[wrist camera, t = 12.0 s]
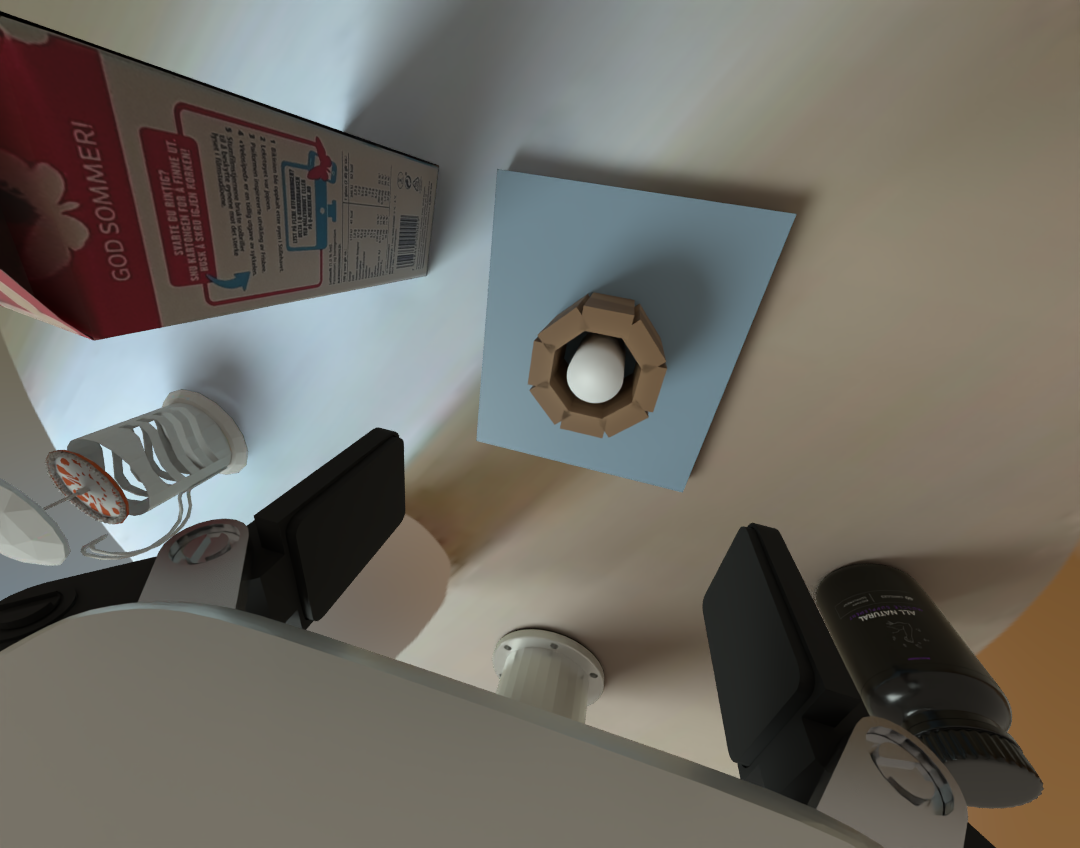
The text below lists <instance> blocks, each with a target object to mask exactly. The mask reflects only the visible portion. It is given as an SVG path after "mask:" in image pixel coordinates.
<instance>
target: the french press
mask: <svg viewBox="0 0 1080 848" xmlns="http://www.w3.org/2000/svg"><path fill="white" fill-rule="evenodd" d="M153 420H154V421H155V423H156V426H157V430H156V429H155V428H154V427H153V426H152V425H151V424H149V423H148V422H151V421H153ZM138 426H140V428H141V430H142V433H143V441H144V448H143V446H142V443H141V440H140V438H139V436H137V435H136V434H135V433H134V430H133V428H135V427H138ZM100 444H101V445H103V446H104V447H106V448H108V449H110V450H111V451H112V457H113V468H114V478H115V480H116V481H117V482H118V483H117V482H116V481H115V480H114V479H113V478H112V477H111V476H110V475H109V474H108V473H107V472H105V465H104V458H103V451H102V448H101V446H100ZM152 445H153V448H154V451H155V454H156V456H157V458H158V460H159V462H160V464H161V466H162V467H163V468H164V469H165V470H166V472H164V471H162V470H160V468H159V467H158V466H157V464H156V463H155V461H154V460H153V451H152ZM144 450H145V451H144ZM247 455H248V450H247V447H246V444H245V440H244V437H243V435H242V433H241V432H240V430H239V429H238V427H237V425H236V424H235V422H234V421H233V419H232V418H231V417H230V416H229V415H228V414H227V413H226V412H225V411H224V410H223V409H222V408H221V407H220V406H219V405H218V404H216V403H215V402H213V401H212V400H210V399H208V398H206V397H205V396H203V395H201V394H200V393H197V392H192V391H188V390H183V389H181V390H178V391H174V392H171V393H169V395H168V396H167V398H166V399H165V401H164V402H163V406H162V408H160V409H157V410H154V411H151V412H149V413H146V414H143V415H140V416H138V417H135V418H132V419H129V420H127V421H124V422H121V423H118V424H116V425H113V426H110V427H107V428H105V429H102V430H99V431H96V432H94V433H91V434H88V435H85V436H82V437H80V438H77V439H74V440H72V441H70V443H69V445H68V446H67V450H57V451H53V452H49V454H48V456H47V458H46V461H45V463H46V469H48V471H47V472H48V473H49V474H47V475H50V478H52V479H53V480H52V481H54V482H55V484H53V485H57V487H56V488H59V489H60V490H59V491H62V492H63V493H62V494H64V495H65V498H63V499H61V500H59V501H57V502H55V503H53V504H50V505H48V506H46V507H44V508H42V507H41V506H40V505H38V504H37V503H36V502H35V501H33V500H32V499H31V498H29V497H28V496H27V495H26V494H24V493H23V492H22V491H21V490H19V489H17V488H16V487H14V486H13V485H11V484H9V483H8V482H6V481H5V480H3V479H1V478H0V553H1V554H3V555H5V556H7V557H9V558H12V559H15V560H18V561H20V562H26V563H34V564H41V565H49V566H50V565H61V564H62V563H63V562H64V560H65V559H66V558H67V556H68V555H69V554H70V552H71V550H70V547H69V543H68V540H67V538H66V537H65V535H64V534H63V532H62V531H61V529H60V527H59V526H58V524H57V523H56V522H55V521H54V520H53V519H52V518H51V517H50V516H49V515H48V514H47V512H46V511H45V510H47V509H49V508H51V507H53V506H55V505H57V504H59V503H62V502H64V501H66V500H67V501H68V502H69V501H71V504H75V507H78V508H77V509H78V510H81V512H83V511H84V512H85V514H86V515H88V516H89V517H92V518H93V519H95V520H96V521H99V522H104V523H108V524H119V523H123V522H124V520H125V519H126V518H127V516H128V515H133V516H136V515H141V514H144V513H145V512H148V511H149V510H151V509H153V508H155V507H156V506H158V505H160V504H162V503H164V502H165V501H167V500H169V499H171V498H172V497H174V496H176V495H178V494H179V495H178V502H179V509H180V511H179V516H178V520H177V522H176V523H175V525H174V526H173V527H172V529H171V530H170V532H169V533H168V534H167V535H165V536H164V537H162V538H161V539H159V540H158V541H157V542H155V543H154V544H152V545H151V546H149V547H147V548H144V549H141V550H136V551H131V552H106V551H102V550H98V549H95V546H94V545H95V544H97V543H98V542H100V541H102V540H103V539H105V538H106V537H107V535H108V534H105V535H103V536H101V537H99V538H97V539H95V540H93V541H92V542H90V543H88V544H86V545H84V546H83V547H82V549H81V553H82V554H83V555H84V556H87V557H92V558H96V559H100V560H119V559H123V558H128V557H132V556H136V555H138V554H141V553H144V552H147V551H149V550H150V549H152V548H155V547H158V546H160V545H161V544H163V543H164V542H165V541H167V540H168V539H169V538H171V537H172V536H174V535H175V534H176V533H177V532H178V531H179V530H180V529H182V528H183V527H184V525H185V524H186V522H187V521H188V519H189V517H190V513H191V508H192V503H191V496H190V491H191V490H192V489H193V488H194V487H196V486H198V485H199V484H201V483H203V482H205V481H206V480H208V479H210V478H212V477H213V476H215V475H217V474H219V473H220V474H225V475H228V474H234V473H239V472H240V471H241V470H242V469H243V468H244V467H245V466H246V463H247ZM122 459H123V460H124V461H125V462H126V463H128V464H129V465H130V470H131V472H132V473H133V475H134V476H135V478H136V479H137V480H138V481H139V482H141V483H143V485H144V486H145V488H146V490H147V491H144V490H142V489H140V488H137V487H135V486H133V485H131V484H130V483H129V481H128V480H127V479H126V477H125V476H124V474H123V467H122ZM181 473H184V474H190V475H189V476H187V477H185V476H184V475H182V474H181ZM160 477H162V478H164V479H166V480H171V481H177V482H176V483H175V484H173V485H170V484H166V483H165V482H164V481H163V480H162V479H161V478H160ZM119 485H120V486H119ZM121 488H122V489H124V490H126V491H128V492H131V493H133V494H135V495H138V496H145V497H149V498H147V499H145V500H143V501H138V500H130V499H127V498H126V496H125V494H124V493H123V491H122V489H121ZM185 492H187V498H188V504H189V508H188V512H187V516H186V518H185V519H184V521H183V522H182V524H181V525H180V526H179V527H178V528H177V526H178V525H179V523H180V522H181V520H182V514H183V505H182V500H181V497H182V494H183V493H185ZM176 528H177V529H176ZM175 529H176V530H175ZM174 530H175V531H174ZM88 547H89V548H90V549H91V551H92V552H95V553H100V554H105V555H110V556H98V555H93V554H90V553H86V550H85V549H87V548H88Z"/></svg>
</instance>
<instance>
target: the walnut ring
mask: <svg viewBox="0 0 1080 848" xmlns="http://www.w3.org/2000/svg"><path fill="white" fill-rule="evenodd" d="M584 331H588V332H593V333H598V334H603V335H608V336H613V337H618V338H622V339H623V340H624V342H625V344H626V345H627V347H628V348H629V350H630V352H631V353H632V355H633V356H634V358H635V359H636V364H635V367H634V371H633V373H632V374H630V375H629V376H627V377H625V378H623V384H622V387H621V389H620V390H619V392H618V393H617V394H616V395H615V396H614V397H613V398H611V399H610V400H608V401H605V402H601V403H590V402H586V401H584V400H581V399H580V398H578V397H577V396H576V395H575V394H574V393H573V392H572V391H571V389H570V387H569V385H568V382H567V370H568V367H569V365H568V363H567V362H566V360H565V359H564V357H565V351H566V346H567V342H569V341H570V340H572V339H573V338H575V337H576V336H578V335H579V334H581V333H582V332H584ZM537 336H538V337H537V338H536V339H535V340H534V342H533V349H532V357H531V364H530V371H529V378H528V385H533V386H532V387H531V389H530V390H529V391H530V392H531V394H532V395H533V396H534V398H535V399H536V400H537V402H538V403H539V404H540V406H541V407H542V408H543V410H544V411H545V413H546V414H547V415H548V417H549V418H550V419H551V421H552V422H553V423H554V425H555V424H557V423H559V422H561V425H560V429H564V430H569V431H573V432H577V433H581V434H585V435H590V436H594V437H598V438H603V434H604V432H605V433H606V434H607V436H608V437H611V436H613V435H615V434H617V433H619V432H621V431H623V430H625V429H627V428H629V427H631V426H633V425H635V424H637V423H639V422H641V421H643V420H645V419H647V418H649V415H648V412H653V411H654V408H655V405H656V402H657V399H658V396H659V393H660V389H661V386H662V383H663V380H664V377H665V374H666V371H667V366H666V358H665V354H664V350H663V346H662V341H661V338H660V336H659V334H658V333H657V331H656V329H655V328H654V326H653V324H652V323H651V321H650V320H649V318H648V316H647V315H646V313H645V311H644V310H643V308H642V306H641V305H640V304H638V305H637V306H635V300H632V299H627V298H622V297H616V296H611V295H606V294H600V293H595V292H594V293H593V294H592V295H591V297H590V296H589V295H588V294H587V295H585V296H584V297H582V298H581V299H580V300H578V301H577V302H575V303H574V304H573V305H571V306H570V307H568V308H567V309H566V310H564V311H563V312H561V313H560V314H559V315H557V316H556V317H555V318H554V319H553V320H552V321H551V322H550V323H549V324H548V325H547V326H546V327H545V328H544V329H543V330H542V331H541V332H540V333H539V334H538V335H537Z"/></svg>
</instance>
